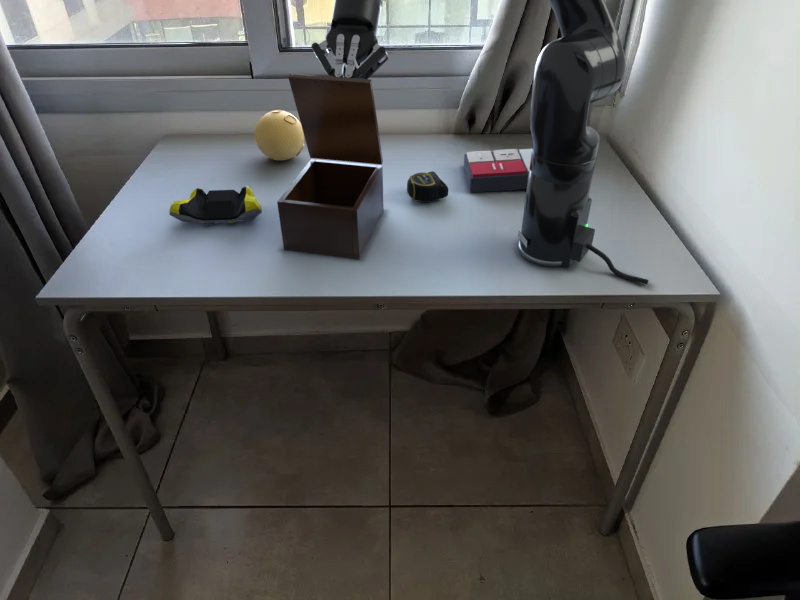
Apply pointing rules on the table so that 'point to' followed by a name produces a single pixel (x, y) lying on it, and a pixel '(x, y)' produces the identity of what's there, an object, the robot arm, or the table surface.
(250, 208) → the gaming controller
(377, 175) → the chest
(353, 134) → the lid
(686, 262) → the table surface
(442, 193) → the tape measure
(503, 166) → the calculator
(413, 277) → the table surface
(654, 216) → the table surface
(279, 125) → the stress ball
